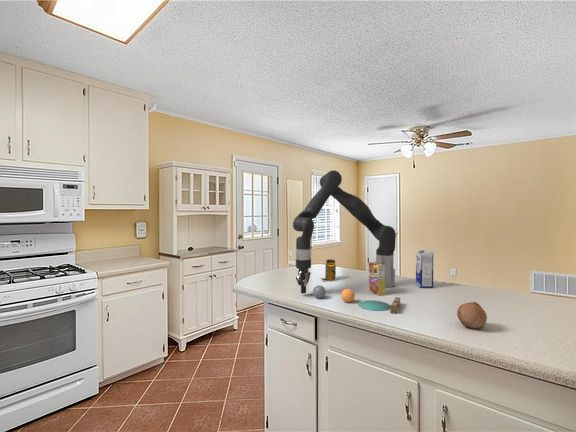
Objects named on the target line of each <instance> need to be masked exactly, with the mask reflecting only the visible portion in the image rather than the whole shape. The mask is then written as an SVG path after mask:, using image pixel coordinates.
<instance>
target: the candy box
mask: <svg viewBox="0 0 576 432" xmlns="http://www.w3.org/2000/svg"><path fill="white" fill-rule="evenodd" d="M368 291H369V292H370V293H373V294H374V295H377V296H385V295H386V287H385V265H383V264H380V263H377V262H376V261H368Z"/></svg>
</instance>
